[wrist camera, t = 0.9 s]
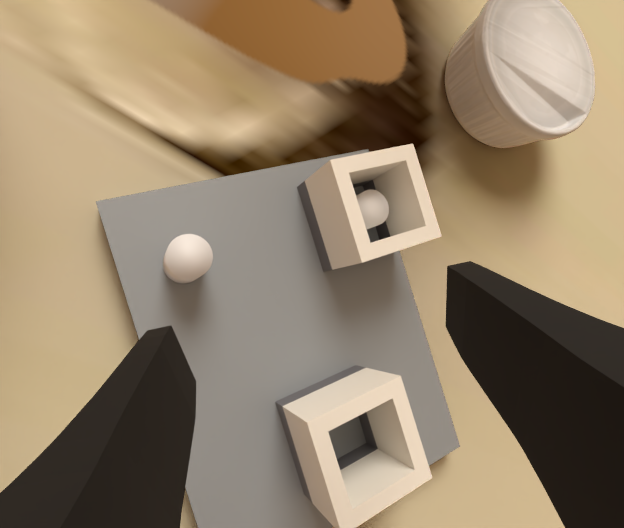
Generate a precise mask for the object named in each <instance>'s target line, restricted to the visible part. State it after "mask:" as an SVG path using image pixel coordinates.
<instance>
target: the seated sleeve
mask: <svg viewBox="0 0 624 528" xmlns="http://www.w3.org/2000/svg"><path fill="white" fill-rule="evenodd" d="M359 186H363V188H364V191H366V190H370V189H372V190H376V191H379V192H380V193H381V194H382V195H383V196H384V197H385V198H386V200H387V202H388V206H389V213H388V217H387V219H386V220H385V221H384V222H383V223H382V224H380V225H377V226H375V227H376V230H377V233H378V236H379V240H378V241H375V242H372V243H371V242H370V239H369V236H368V233H367V230H366V226H365V223H364V220H363V217H362V213H361V210H360V207H359V204H358V201H357V197H356V194H355V191H354V188H355V187H359ZM297 189H298V192H299V195H300V198H301V202H302V205H303V208H304V211H305V214H306V218H307V221H308V224H309V227H310V231H311V234H312V237H313V240H314V243H315V247H316V250H317V253H318V256H319V259H320V263H321V266H322V269H323V272H325V271H330V270H334V269H338V268H342V267H346V266H351V265H355V264H359V263H363V262H366V261H369V260H372V259H375V258H378V257H381V256H384V255H387V254H390V253H393V252H396V251H399V250H402V249H405V248H408V247H411V246H414V245H417V244H420V243H423V242H426V241H429V240H432V239H435V238H439V237H442V235H441V232H440V229H439V226H438V223H437V219H436V216H435V213H434V210H433V206H432V203H431V200H430V197H429V193H428V190H427V187H426V184H425V180H424V177H423V174H422V171H421V168H420V164H419V161H418V158H417V155H416V151H415V148H414V145H413V144H408V145H403V146H398V147H393V148H388V149H383V150H378V151H373V152H367V153H362V154H357V155H352V156H347V157H342V158H337V159H332V160H329V161H328V162H327V163H326V164H324V165H323V166H322V167H321V168H320V169H318V170H317V171H316V172H315V173H313V174H312V175H311V176H310V177H309V178H307V179H306V180H305V181H304V182H303V183H301V184H300V185H299V186H298V187H297Z"/></svg>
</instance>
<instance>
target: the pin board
mask: <svg viewBox="0 0 624 528" xmlns="http://www.w3.org/2000/svg"><path fill="white" fill-rule="evenodd" d="M367 152H369V151H368V149H366V150H361V151H356V152H351V153H346V154H340V155H335V156H330V157H325V158H320V159H314V160H309V161H304V162H299V163H294V164H288V165H283V166H278V167H273V168H267V169H262V170H257V171H252V172H247V173H241V174H236V175H231V176H226V177H221V178H215V179H210V180H205V181H200V182H195V183H189V184H184V185H179V186H174V187H169V188H163V189H158V190H153V191H148V192H143V193H137V194H132V195H127V196H122V197H116V198H111V199H106V200H101V201H96V204H97V207H98V210H99V213H100V216H101V220H102V223H103V226H104V229H105V232H106V236H107V239H108V242H109V245H110V248H111V252H112V255H113V258H114V261H115V264H116V268H117V271H118V274H119V277H120V280H121V284H122V287H123V290H124V293H125V296H126V300H127V303H128V306H129V309H130V312H131V315H132V319H133V322H134V325H135V328H136V331H137V335H138V338H139V340H140V338H141V337H142V336H143V335H144V334H145V333H146V331H147V330H152V329H156V328H161V327H166V326H170V325H172V328H173V330H174V332H175V334H176V337H177V339H178V341H179V344H180V346H181V348H182V350H183V353H184V355H185V357H186V359H187V362H188V364H189V366H190V368H191V371H192V373H193V375H194V377H195V380H196V419H195V426H194V433H193V440H192V447H191V453H190V460H189V466H188V472H187V479H186V485H185V488H186V491H187V494H188V498H189V501H190V504H191V507H192V510H193V513H194V517H195V520H196V523H197V526H198V528H332V527H333V526H332V524H331V523H330V522H329V521H328V520H327V519H326V518H325V517H324V516H323V515H322V513H321V512H320V511H319V510H318V509H317V508H316V507H315V506H314V505H313V503H312V502H311V501H310V500H309V499H308V498H307V497H306V496H305V495H304V493H303V489H302V486H301V483H300V480H299V477H298V473H297V470H296V467H295V464H294V460H293V457H292V454H291V451H290V448H289V444H288V441H287V438H286V435H285V432H284V428H283V425H282V422H281V419H280V416H279V412H278V409H277V406H276V403H275V401H278V400H280V399H282V398H284V397H286V396H289V395H291V394H293V393H295V392H297V391H300V390H302V389H304V388H306V387H309V386H311V385H313V384H315V383H317V382H320V381H322V380H324V379H326V378H328V377H331V376H333V375H335V374H337V373H339V372H342V371H344V370H346V369H348V368H350V367H353V366H355V365H357V366H361V367H366V368H370V369H374V370H378V371H383V372H387V373H391V374H395V375H400V376H401V378H402V381H403V384H404V388H405V391H406V394H407V397H408V401H409V404H410V407H411V410H412V413H413V417H414V420H415V423H416V426H417V430H418V433H419V436H420V439H421V442H422V446H423V449H424V452H425V455H426V459H427V462H428V465H429V466H430V465H431V464H433V463H434V462H436V461H437V460H439V459H441V458H442V457H444V456H445V455H447V454H449V453H450V452H452V451H453V450H455V449H456V448H458V447H460V445H459V441H458V438H457V435H456V432H455V429H454V425H453V422H452V419H451V416H450V412H449V409H448V406H447V403H446V400H445V396H444V393H443V390H442V387H441V383H440V380H439V377H438V374H437V370H436V367H435V364H434V361H433V358H432V354H431V351H430V348H429V345H428V341H427V338H426V335H425V332H424V328H423V325H422V322H421V319H420V316H419V312H418V309H417V306H416V303H415V299H414V296H413V293H412V290H411V287H410V283H409V280H408V277H407V274H406V270H405V267H404V264H403V261H402V257H401V254H400V251H396V252H393V253H390V254H387V255H384V256H381V257H378V258H375V259H372V260H369V261H366V262H363V263H359V264H355V265H351V266H346V267H342V268H338V269H334V270H330V271H325V272H323V269H322V266H321V263H320V259H319V256H318V253H317V250H316V247H315V243H314V240H313V237H312V234H311V231H310V227H309V224H308V221H307V218H306V214H305V211H304V208H303V205H302V202H301V198H300V195H299V192H298V189H297V187H298V186H299V185H300V184H301V183H303V182H304V181H305V180H306V179H307V178H309V177H310V176H311V175H312V174H313V173H315V172H316V171H317V170H318V169H320V168H321V167H322V166H323V165H324V164H326V163H327V162H328V161H329V160H332V159H337V158H342V157H347V156H352V155H357V154H362V153H367ZM354 191H355V194H356V197H357V201H358V204H359V207H360V210H361V213H362V217H363V220H364V223H365V226H366V230H367V233H368V236H369V239H370V242H371V243H372V242H375V241H378V240H379V236H378V233H377V230H376V227H375V226H377V225H380V224H382V223H383V222H384V221H385V220H386V219H387V217H388V213H389V206H388V202H387V200H386V198H385V197H384V196H383V195H382V194H381V193H380V192H379V191H376V190H372V189H370V190H366V191H364V188H363V186H359V187H355V188H354ZM328 433H329V436H330V439H331V442H332V446H333V449H334V452H335V455H336V458H337V459H338V458H340V457H342V456H343V455H345V454H347V453H349V452H351V451H352V450H354V449H356V448H358V447H360V446H361V445H363V444H365V443H367V442H366V439H365V436H364V433H363V429H362V426H361V423H360V420H359V417H358V416H357V417H355V418H353V419H352V420H350V421H348V422H346V423H344V424H342V425H340V426H338V427H336V428H334V429H332V430H330V431H328Z"/></svg>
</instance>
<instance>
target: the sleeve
mask: <svg viewBox="0 0 624 528" xmlns="http://www.w3.org/2000/svg"><path fill="white" fill-rule="evenodd" d="M275 403H276V406H277V409H278V412H279V416H280V419H281V422H282V425H283V428H284V432H285V435H286V438H287V441H288V444H289V448H290V451H291V454H292V457H293V460H294V464H295V467H296V470H297V473H298V477H299V480H300V483H301V486H302V489H303V493H304V495H305V496H306V497H307V498H308V499H309V500H310V501H311V502H312V503H313V505H314V506H315V507H316V508H317V509H318V510H319V511H320V512H321V513H322V515H323V516H324V517H325V518H326V519H327V520H328V521H329V522H330V523H331V524H332V526H333V527H334V528H356V527H358V526H359V525H361V524H362V523H364V522H365V521H367V520H369V519H370V518H372V517H373V516H375V515H376V514H378V513H379V512H381V511H382V510H384V509H385V508H387V507H388V506H390V505H392V504H393V503H395V502H396V501H398V500H399V499H401V498H402V497H404V496H405V495H407V494H408V493H410V492H411V491H413V490H414V489H416V488H418V487H419V486H421V485H422V484H424V483H425V482H427V481H428V480H430V479H431V478H432V475H431V471H430V468H429V465H428V462H427V459H426V455H425V452H424V449H423V446H422V442H421V439H420V436H419V433H418V430H417V426H416V423H415V420H414V417H413V413H412V410H411V407H410V404H409V401H408V397H407V394H406V391H405V388H404V384H403V381H402V378H401V376H400V375H395V374H391V373H387V372H383V371H378V370H374V369H370V368H366V367H361V366H357V365H355V366H353V367H350V368H348V369H346V370H344V371H342V372H339V373H337V374H335V375H333V376H331V377H328V378H326V379H324V380H322V381H320V382H317V383H315V384H313V385H311V386H309V387H306V388H304V389H302V390H300V391H297V392H295V393H293V394H291V395H289V396H286V397H284V398H282V399H280V400H278V401H275ZM357 416H358V417H359V420H360V423H361V426H362V429H363V433H364V436H365V439H366V442H367V443H365V444H363V445H361V446H360V447H358V448H356V449H354V450H352V451H351V452H349V453H347V454H345V455H343V456H342V457H340V458H338V459H337V458H336V455H335V452H334V449H333V446H332V442H331V439H330V436H329V433H328V431H330V430H332V429H334V428H336V427H338V426H340V425H342V424H344V423H346V422H348V421H350V420H352V419H353V418H355V417H357Z"/></svg>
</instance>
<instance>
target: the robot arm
mask: <svg viewBox="0 0 624 528" xmlns="http://www.w3.org/2000/svg"><path fill="white" fill-rule="evenodd" d="M446 328H447V330H448V332H449V334H450V336H451V338H452V340H453V342H454V344H455V346H456V348H457V350H458V352H459V354H460V356H461V358H462V359H463V361H464V362H465V364H466V366H467V367H468V369H469V370H470V371H471V373H472V374H473V376H474V377H475V379H476V380H477V382H478V383H479V385H480V386H481V388H482V389H483V391H484V392H485V393H486V395H487V396H488V398H489V399H490V401H491V402H492V404H493V405H494V407H495V408H496V409H497V411H498V412H499V414H500V415H501V417H502V418H503V420H504V421H505V423H506V424H507V425H508V427H509V428H510V430H511V431H512V433H513V434H514V436H515V438H516V439H517V441H518V442H519V444H520V446H521V447H522V449H523V450H524V452H525V454H526V456H527V458H528V459H529V461H530V463H531V465H532V467H533V468H534V470H535V472H536V474H537V476H538V477H539V479H540V481H541V483H542V485H543V486H544V488H545V490H546V492H547V494H548V496H549V498H550V500H551V502H552V503H553V505H554V507H555V509H556V511H557V513H558V515H559V517H560V519H561V521H562V522H563V524H564V526H565V528H624V328H622V327H619V326H616V325H613V324H611V323H608V322H605V321H603V320H600V319H597V318H595V317H592V316H590V315H588V314H585V313H583V312H580V311H578V310H575V309H573V308H570V307H568V306H566V305H564V304H561V303H559V302H557V301H554V300H552V299H550V298H548V297H546V296H543V295H541V294H539V293H537V292H535V291H533V290H530V289H528V288H526V287H524V286H522V285H520V284H518V283H516V282H514V281H512V280H510V279H507V278H505V277H503V276H501V275H499V274H497V273H495V272H493V271H491V270H489V269H487V268H484V267H482V266H480V265H478V264H475V263H473V262H471V261H469V262H465V263H460V264H455V265H451V266H447V300H446ZM195 419H196V380H195V377H194V375H193V373H192V371H191V368H190V366H189V364H188V362H187V359H186V357H185V355H184V353H183V350H182V348H181V346H180V344H179V341H178V339H177V337H176V334H175V332H174V330H173V328H172V325H170V326H166V327H161V328H156V329H152V330H147V331H146V333H145V334H144V335H143V336H142V337H141V338H140V340H139V341H138V342H137V343H136V344H135V346H134V347H133V348H132V349H131V351H130V352H129V353H128V354H127V356H126V357H125V358H124V359H123V361H122V362H121V363H120V364H119V366H118V367H117V368H116V369H115V371H114V372H113V373H112V374H111V376H110V377H109V378H108V379H107V380H106V382H105V383H104V384H103V385H102V387H101V388H100V389H99V390H98V391H97V393H96V394H95V395H94V396H93V397H92V399H91V400H90V401H89V402H88V403H87V404H86V405H85V406H84V408H83V409H82V410H81V411H80V412H79V413H78V414H77V416H76V417H75V418H74V419H73V420H72V421H71V422H70V423H69V425H68V426H67V427H66V428H65V429H64V430H63V431H62V432H61V434H60V435H59V436H58V437H57V438H56V439H55V440H54V441H53V442H52V443H51V444H50V445H49V446H48V447H47V448H46V449H45V450H44V451H43V452H42V453H41V454H40V455H39V456H38V457H37V458H36V459H35V460H34V461H33V462H32V463H31V464H30V465H29V466H28V467H27V468H26V469H25V470H24V471H23V472H22V473H21V474H20V475H19V476H18V477H17V478H16V479H15V480H14V481H13V482H12V483H11V484H10V485H9V486H7V487H6V488H5V489H4V490H3V491H2V492H1V493H0V528H180V520H181V511H182V504H183V498H184V492H185V485H186V479H187V472H188V466H189V460H190V453H191V447H192V440H193V433H194V426H195Z"/></svg>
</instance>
